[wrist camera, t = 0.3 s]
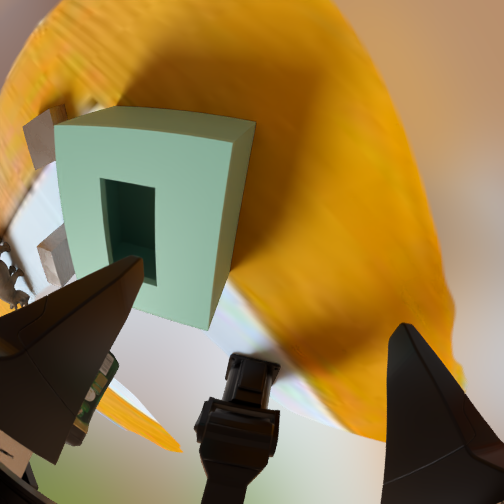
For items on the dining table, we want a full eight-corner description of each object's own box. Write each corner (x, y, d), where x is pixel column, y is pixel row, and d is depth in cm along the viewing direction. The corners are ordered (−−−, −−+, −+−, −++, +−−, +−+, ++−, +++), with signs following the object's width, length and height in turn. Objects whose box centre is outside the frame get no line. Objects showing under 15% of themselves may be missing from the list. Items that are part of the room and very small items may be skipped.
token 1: (78, 149, 23) (62, 157, 21) (50, 161, 24) (35, 170, 22) (66, 103, 20) (49, 108, 18) (38, 120, 21) (22, 126, 19)
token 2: (85, 262, 30) (61, 288, 26) (71, 257, 31) (47, 281, 26) (78, 227, 28) (51, 252, 24) (63, 223, 28) (36, 246, 24)
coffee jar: (98, 366, 46) (59, 443, 31) (71, 339, 43) (24, 417, 28) (128, 366, 43) (86, 456, 28) (97, 335, 39) (44, 429, 24)
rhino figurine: (30, 300, 40) (12, 322, 35) (-5, 235, 32) (-28, 255, 27) (41, 301, 39) (22, 325, 34) (4, 233, 31) (-21, 254, 26)
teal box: (229, 272, 27) (207, 331, 21) (119, 242, 28) (79, 288, 22) (256, 122, 19) (232, 142, 13) (115, 105, 20) (54, 125, 14)
